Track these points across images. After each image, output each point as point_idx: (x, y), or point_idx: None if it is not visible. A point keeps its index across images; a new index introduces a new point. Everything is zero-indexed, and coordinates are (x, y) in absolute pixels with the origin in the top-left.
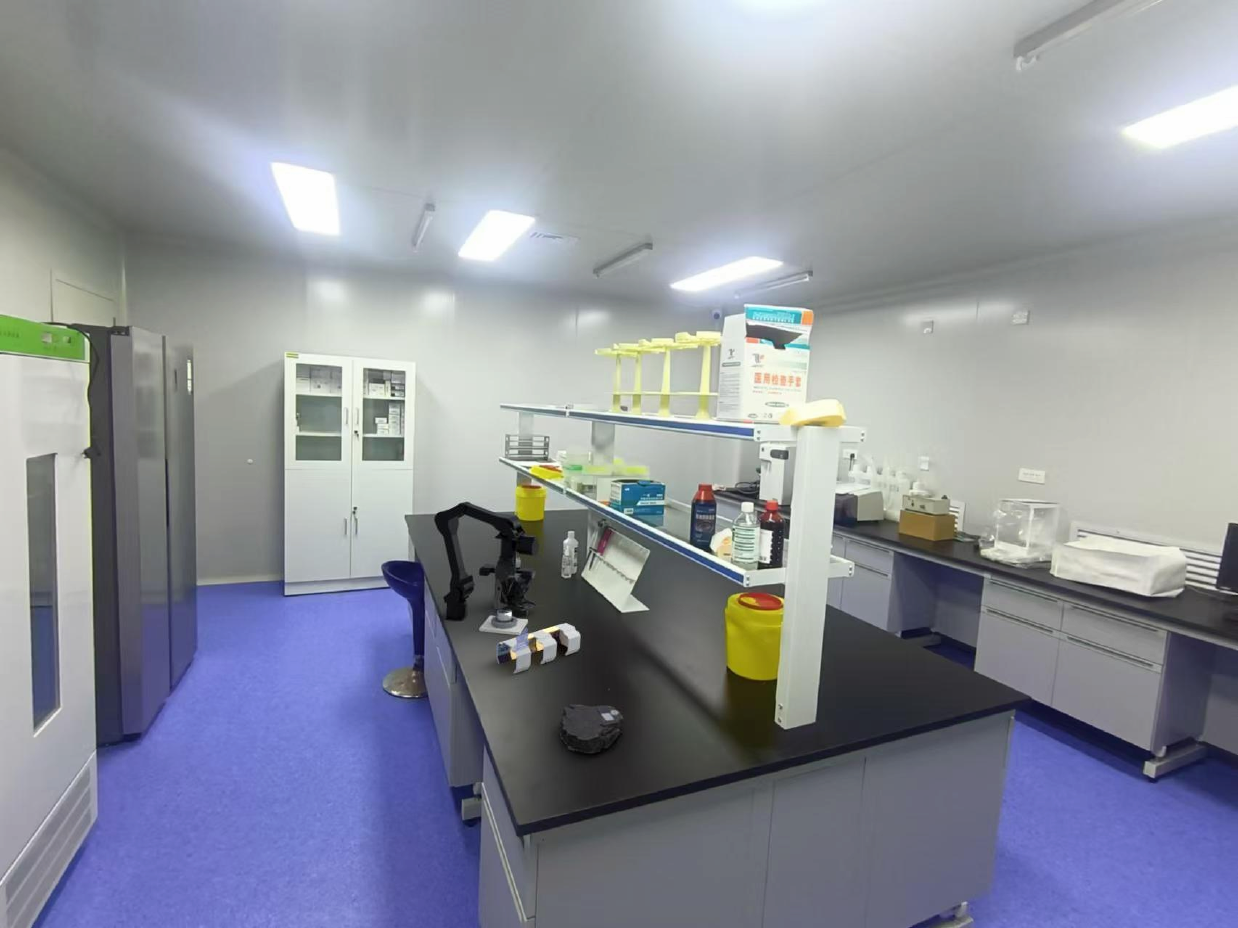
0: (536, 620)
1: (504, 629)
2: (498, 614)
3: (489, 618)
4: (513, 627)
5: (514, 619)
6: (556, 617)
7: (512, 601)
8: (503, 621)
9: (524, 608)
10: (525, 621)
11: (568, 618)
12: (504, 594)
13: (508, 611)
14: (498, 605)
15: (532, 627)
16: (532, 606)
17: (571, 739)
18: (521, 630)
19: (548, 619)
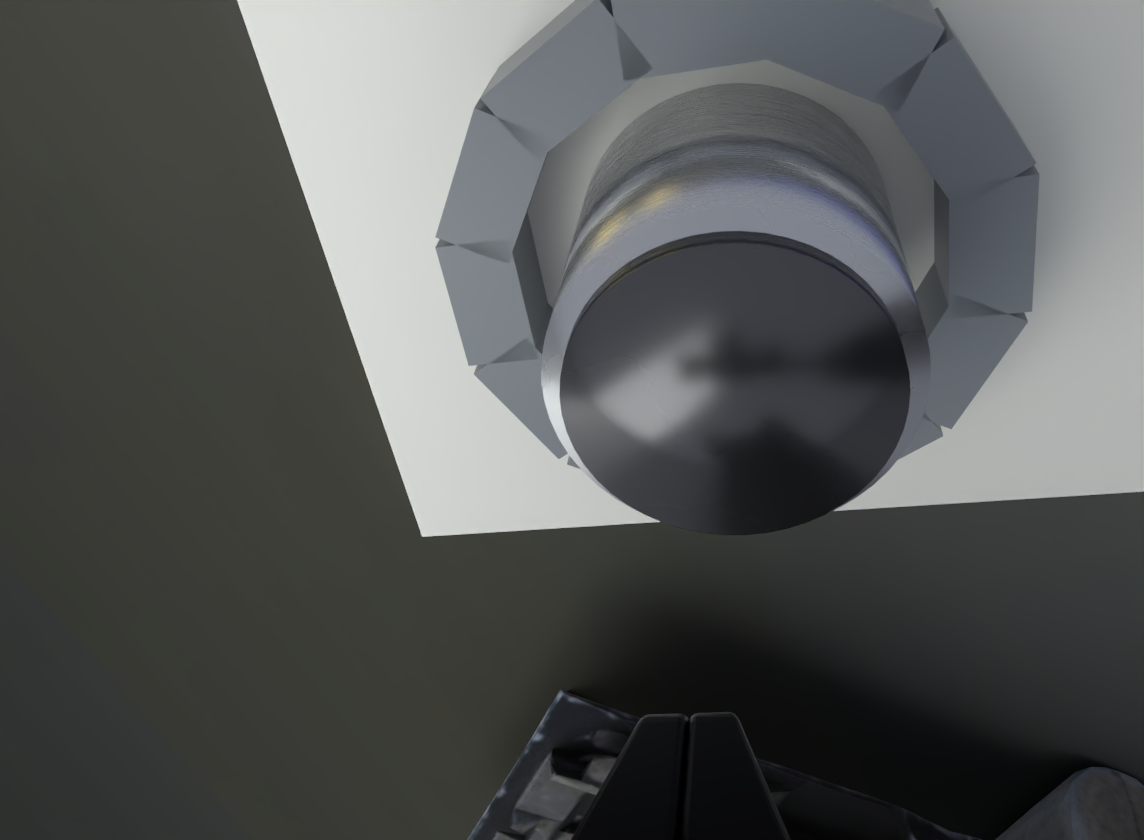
0: (352, 594)
1: None
2: (850, 217)
3: (1128, 374)
4: (464, 130)
5: (533, 356)
6: (181, 735)
7: None
8: (684, 135)
9: (549, 752)
10: (412, 457)
11: (39, 743)
12: (750, 746)
13: (595, 352)
14: (1095, 821)
15: (248, 350)
16: (476, 837)
17: None
18: (289, 107)
19: (228, 662)
